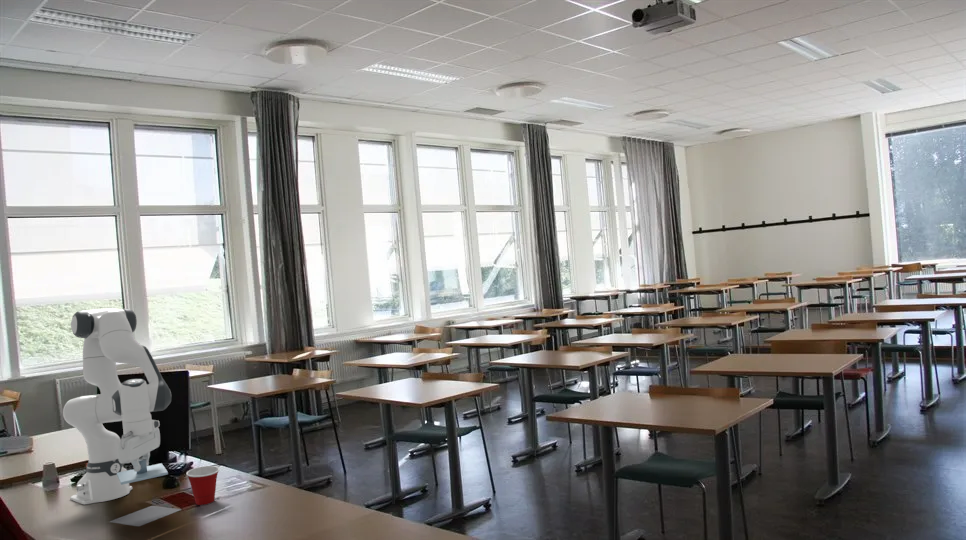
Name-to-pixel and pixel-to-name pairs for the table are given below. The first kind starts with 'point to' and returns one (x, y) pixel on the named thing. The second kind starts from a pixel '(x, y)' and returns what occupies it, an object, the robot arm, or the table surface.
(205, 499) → the plastic cup
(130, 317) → the robot arm
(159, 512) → the grey flat square plate
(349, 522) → the table surface
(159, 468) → the lid
